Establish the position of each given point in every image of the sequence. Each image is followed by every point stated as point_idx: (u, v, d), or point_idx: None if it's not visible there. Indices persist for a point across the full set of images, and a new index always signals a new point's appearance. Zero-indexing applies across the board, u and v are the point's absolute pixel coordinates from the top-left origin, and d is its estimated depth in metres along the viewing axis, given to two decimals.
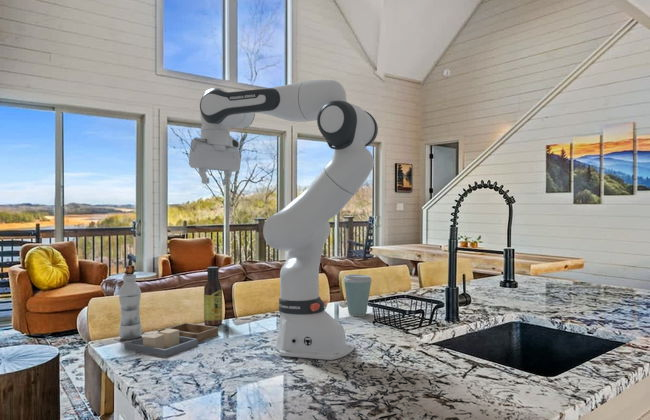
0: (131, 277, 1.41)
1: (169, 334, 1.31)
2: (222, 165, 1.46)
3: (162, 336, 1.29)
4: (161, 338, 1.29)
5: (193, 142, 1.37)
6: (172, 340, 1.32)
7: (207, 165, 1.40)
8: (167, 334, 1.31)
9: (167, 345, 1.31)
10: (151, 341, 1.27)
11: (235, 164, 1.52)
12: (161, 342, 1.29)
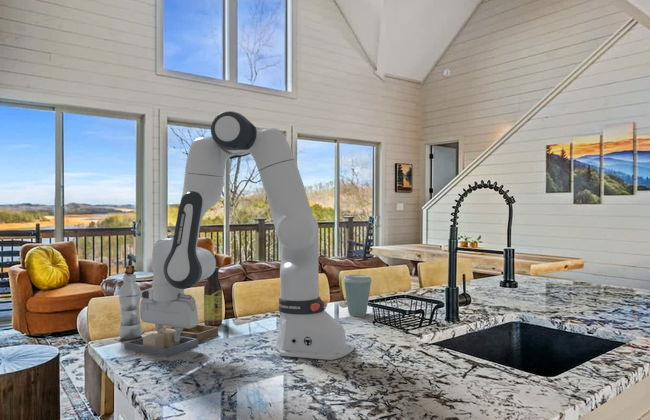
0: (131, 277, 1.41)
1: (169, 334, 1.31)
2: None
3: (162, 336, 1.29)
4: (161, 338, 1.29)
5: None
6: None
7: None
8: (167, 334, 1.31)
9: (167, 345, 1.31)
10: (151, 341, 1.27)
11: None
12: (161, 342, 1.29)
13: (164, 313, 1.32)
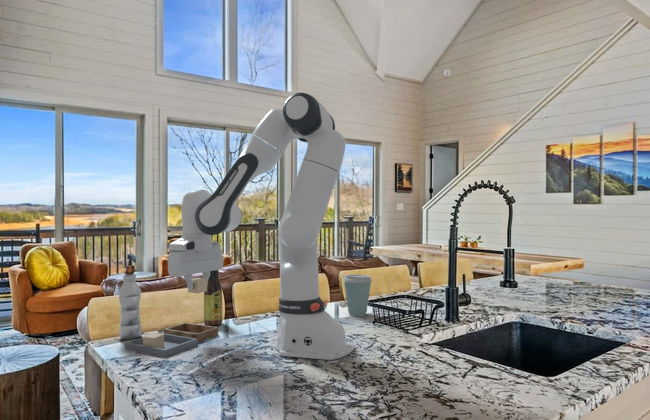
0: (131, 277, 1.41)
1: None
2: None
3: (162, 336, 1.29)
4: (161, 338, 1.29)
5: None
6: None
7: None
8: (205, 279, 1.42)
9: (205, 290, 1.42)
10: (151, 341, 1.27)
11: None
12: (161, 342, 1.29)
13: (202, 261, 1.41)
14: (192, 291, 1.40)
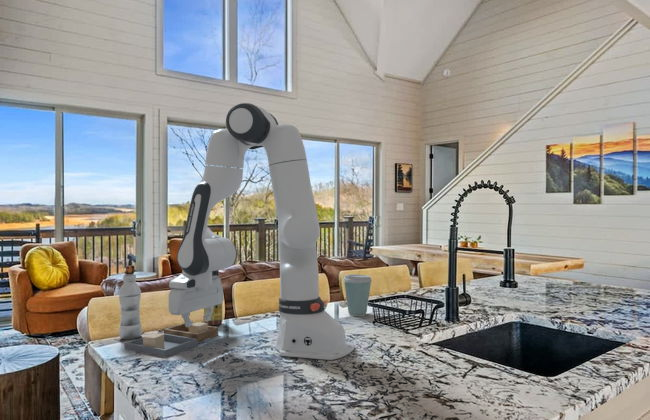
0: (131, 277, 1.41)
1: None
2: None
3: (162, 336, 1.29)
4: (161, 338, 1.29)
5: None
6: None
7: None
8: (206, 324, 1.42)
9: None
10: (151, 341, 1.27)
11: None
12: (161, 342, 1.29)
13: (202, 297, 1.41)
14: None
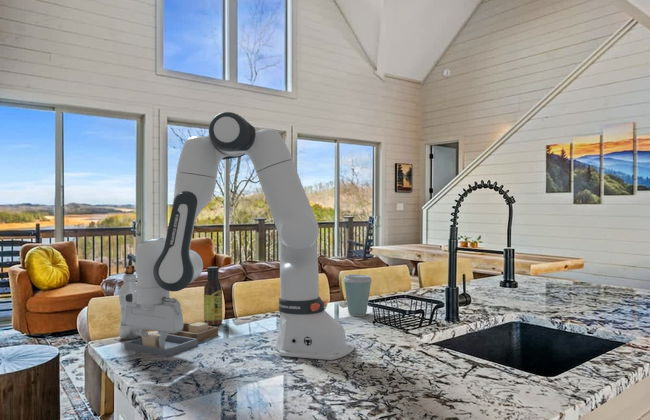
0: (131, 277, 1.41)
1: None
2: None
3: None
4: None
5: None
6: None
7: None
8: (206, 324, 1.42)
9: None
10: (151, 341, 1.27)
11: None
12: None
13: (148, 317, 1.27)
14: None
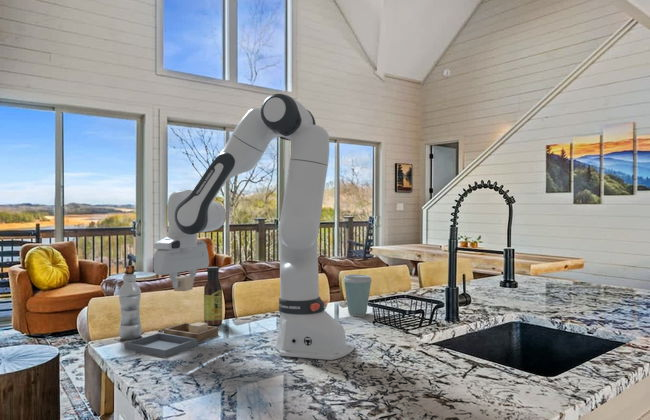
0: (131, 277, 1.41)
1: None
2: None
3: None
4: None
5: None
6: None
7: None
8: (206, 324, 1.42)
9: None
10: (190, 280, 1.44)
11: None
12: None
13: (187, 260, 1.43)
14: None
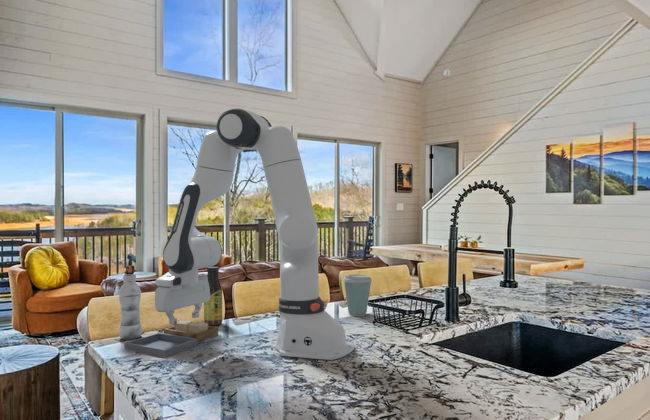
0: (131, 277, 1.41)
1: None
2: None
3: None
4: None
5: None
6: None
7: None
8: (206, 324, 1.42)
9: None
10: None
11: None
12: None
13: (188, 295, 1.44)
14: None
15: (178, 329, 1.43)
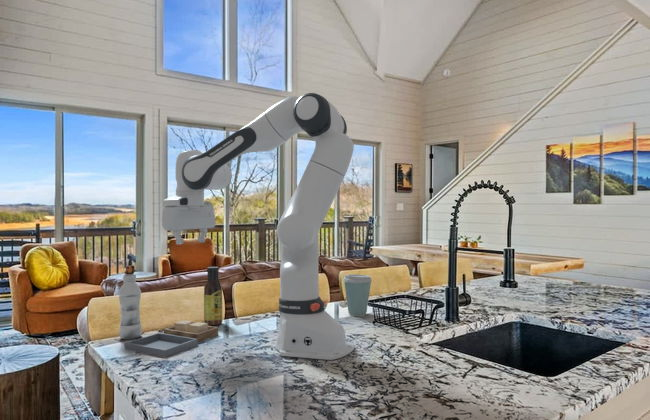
0: (131, 277, 1.41)
1: None
2: None
3: None
4: None
5: None
6: None
7: None
8: (206, 324, 1.42)
9: None
10: None
11: None
12: None
13: (194, 218, 1.48)
14: None
15: (178, 329, 1.43)
